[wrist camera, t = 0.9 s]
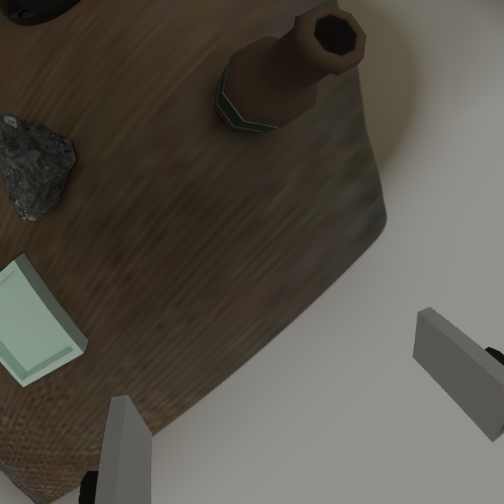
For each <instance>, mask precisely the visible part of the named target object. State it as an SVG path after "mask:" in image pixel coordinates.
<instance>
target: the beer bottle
mask: <svg viewBox="0 0 504 504" xmlns="http://www.w3.org/2000/svg"><path fill="white" fill-rule="evenodd" d="M365 41H366V34H365V33H364V31H363V30H362V28H361V27H360V25H359V24H358V23H357V21H356V20H355V18H354V17H353V16H352V14H350V13H348V12H345V11H342V10H340V9H337V8H334V7H331V6H329V5H324V6H320V7H317V8H315V9H313V10H310V11H308V12H306V13H304V14H301V15H299V16H297V17H295V23H294V28H293V29H291V30H290V31H289V32H288V33H287V34H285V35H284V36H283V37H282V38H280V39H279V38H275V37H271V36H269V37H263V38H261V39H259V40H257V41H255V42H253V43H252V44H250V45H248V46H246V47H244V48H243V49H241V50H239V51H237V52H236V53H234V54H233V55H232V56H231V58H230V59H229V61H228V63H227V65H226V67H225V70H224V72H223V74H222V76H221V79H220V81H219V86H218V91H217V96H216V102H215V108H214V109H215V110H216V111H217V113H218V114H219V115H220V117H221V118H222V119H223V121H224V122H225V123H226V125H227V126H228V127H229V129H235V130H241V131H247V132H252V133H260V132H264V131H268V130H272V129H277V128H280V127H282V126H284V125H286V124H287V123H289V122H290V121H292V120H293V119H295V118H297V117H298V116H300V115H301V114H303V113H304V112H306V111H307V110H309V109H310V108H312V107H314V105H315V101H316V96H317V90H318V83H319V81H320V80H321V79H323V78H324V77H326V76H327V75H329V74H334V75H337V76H338V75H340V74H342V73H343V72H345V71H347V70H349V69H350V68H352V67H354V66H356V65H358V64H359V63H360V61H361V60H362V59H363V57H364V50H365Z"/></svg>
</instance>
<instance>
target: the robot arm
mask: <svg viewBox="0 0 504 504" xmlns="http://www.w3.org/2000/svg"><path fill="white" fill-rule="evenodd" d="M78 1H79V0H0V10H1V12H2V13H3V14H4V15H5V16H6V17H7V18H8V19H10V20H11V21H13V22H15V23H17V24H20V25H35V24H39V23H43V22H46V21H48V20H51V19H53V18H55V17H57V16H59V15H60V14H62V13H64V12H65V11H67V10H68V9H70V8H71V7H72V6H74V5H75V4H76V3H77V2H78ZM413 358H414V359H415V360H416V361H417V362H418V363H419V364H420V365H421V366H422V367H423V368H424V369H425V370H426V371H427V372H428V373H429V374H430V375H431V377H433V379H434V380H435V381H436V382H437V383H438V384H439V385H440V386H441V387H442V388H443V389H444V390H445V391H446V392H447V393H448V395H449V396H450V397H451V398H452V399H453V400H454V401H455V402H456V403H457V404H458V405H459V406H460V407H461V408H462V410H463V411H464V412H465V413H466V414H467V415H468V416H469V417H470V418H471V419H472V420H473V421H474V423H475V424H476V425H477V426H478V427H479V428H480V429H481V430H482V431H483V433H484V434H485V435H486V436H487V437H488V438H489V439H490V440H491V441H492V442H494V441H495V440H496V439H498V438H499V437H500V436H501V435H503V434H504V355H503V354H502V353H501V352H500V351H498V350H495V349H493V348H490V347H488V348H486V349H485V350H484V349H483V348H482V347H480V346H479V345H478V344H477V343H475V342H474V341H473V340H472V339H470V338H469V337H468V336H467V335H465V334H464V333H463V332H462V331H460V330H459V329H458V328H457V327H455V326H454V325H453V324H451V323H450V322H449V321H448V320H446V319H445V318H444V317H442V316H441V315H440V314H439V313H437V312H436V311H435V310H433V309H432V308H431V307H429V308H426V309H424V310H422V311H420V312H418V315H417V325H416V335H415V344H414V351H413ZM151 454H152V433H151V432H150V430H149V429H148V427H147V426H146V424H145V423H144V421H143V419H142V418H141V416H140V415H139V413H138V411H137V410H136V408H135V406H134V405H133V403H132V401H131V400H130V398H129V396H128V395H124V396H117V397H112V398H111V403H110V408H109V413H108V419H107V424H106V429H105V435H104V441H103V447H102V453H101V459H100V466H99V471H87V473H86V475H85V476H84V478H83V480H82V481H81V487H80V495H79V500H78V502H79V504H151V456H152V455H151Z"/></svg>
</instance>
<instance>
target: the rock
mask: <svg viewBox="0 0 504 504" xmlns="http://www.w3.org/2000/svg"><path fill="white" fill-rule="evenodd" d="M75 160H76V157H75V154H74V151H73V147H72V143H71V140H69V139H64V138H63V137H62V136H60V135H58V134H54V133H52V132H50V131H48V130H47V129H46V128H45V127H43V126H42V125H41V124H40V123H39V124H34V125H33V126H29V125H28V124H27V123H26V120H24V119H21V118H19V117H18V116H16V115H14V114H13V113H3V114H2V115H1V116H0V170H1V174H2V177H3V181H4V183H5V189H6V191H7V192H8V193H9V199H10V203H11V205H15V206H16V207H17V213H18V215H19V217H20V218H21V219H23V220H26V219H29V220H30V221H32V222H34V223H35V222H37V219H38V220H40V217H41V216H42V214H45V213H46V212H47V211H49V209H52V207H54V205H56V204H57V202H58V201H59V200H60V197H61V194H62V191H63V189H64V187H65V185H66V182H67V176H68V173H69V171H70V170H71V168H72V167H73V166H74V163H75Z"/></svg>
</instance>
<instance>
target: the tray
mask: <svg viewBox="0 0 504 504" xmlns="http://www.w3.org/2000/svg"><path fill="white" fill-rule="evenodd" d="M88 342H89V340H88V339H87V338H86V337H85V335H84V334H83V333H82V332H81V331H80V329H79V328H78V327H77V326H76V324H75V323H74V322H73V321H72V319H71V318H70V317H69V316H68V314H67V313H66V312H65V310H64V309H63V308H62V307H61V305H60V304H59V303H58V301H57V300H56V298H55V297H54V296H53V294H52V293H51V292H50V290H49V289H48V287H47V286H46V285H45V283H44V282H43V280H42V279H41V277H40V276H39V274H38V273H37V272H36V270H35V269H34V267H33V266H32V264H31V262H30V261H29V259H28V258H27V256H26V255H25V253H23V254H21V255H20V256H19V257H17V258H16V259H15V260H14V261H12V262H11V263H10V264H9V265H8V266H7V267H6V268H5V269H4V270H2V271H1V272H0V362H1V363H2V364H3V365H4V366H5V368H6V369H7V370H8V371H9V372H10V373H11V374H12V376H13V377H14V378H15V379H16V380H17V381H18V382H19V383H20V384H21V385H22V386H23V387H24V386H26V385H28V384H30V383H32V382H33V381H35V380H37V379H39V378H40V377H42V376H44V375H46V374H47V373H49V372H51V371H53V370H55V369H56V368H58V367H60V366H62V365H63V364H65V363H67V362H69V361H70V360H72V359H74V358H76V357H78V356H79V355H81V354H83V353H84V351H85V349H86V347H87V344H88Z"/></svg>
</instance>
